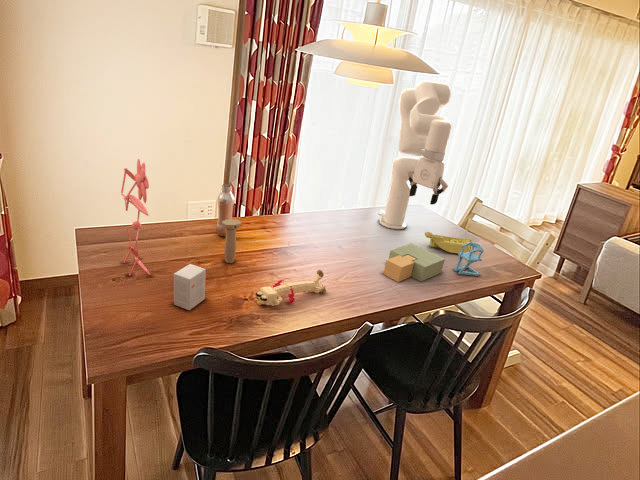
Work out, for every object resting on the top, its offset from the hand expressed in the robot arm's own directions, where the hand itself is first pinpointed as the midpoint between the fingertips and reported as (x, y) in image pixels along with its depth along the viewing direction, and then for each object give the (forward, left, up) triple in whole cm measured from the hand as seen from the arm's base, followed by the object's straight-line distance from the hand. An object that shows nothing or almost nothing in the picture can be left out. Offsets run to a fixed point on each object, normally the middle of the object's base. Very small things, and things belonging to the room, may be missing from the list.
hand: (422, 199), depth 183 cm
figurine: (-40, -91, -24) cm, 103 cm away
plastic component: (+3, +24, -24) cm, 34 cm away
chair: (+21, +10, -24) cm, 34 cm away
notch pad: (+8, -7, -24) cm, 27 cm away
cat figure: (-1, -64, -24) cm, 69 cm away
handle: (-31, -66, -24) cm, 77 cm away
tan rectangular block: (+8, -17, -24) cm, 31 cm away
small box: (-15, -92, -24) cm, 96 cm away
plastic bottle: (-51, -54, -24) cm, 78 cm away
